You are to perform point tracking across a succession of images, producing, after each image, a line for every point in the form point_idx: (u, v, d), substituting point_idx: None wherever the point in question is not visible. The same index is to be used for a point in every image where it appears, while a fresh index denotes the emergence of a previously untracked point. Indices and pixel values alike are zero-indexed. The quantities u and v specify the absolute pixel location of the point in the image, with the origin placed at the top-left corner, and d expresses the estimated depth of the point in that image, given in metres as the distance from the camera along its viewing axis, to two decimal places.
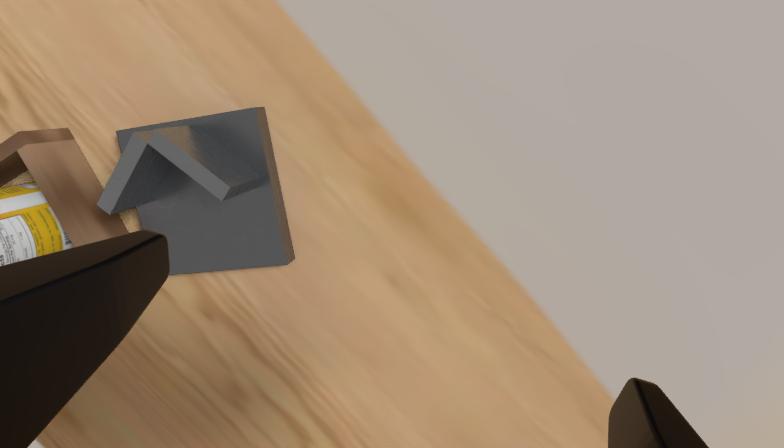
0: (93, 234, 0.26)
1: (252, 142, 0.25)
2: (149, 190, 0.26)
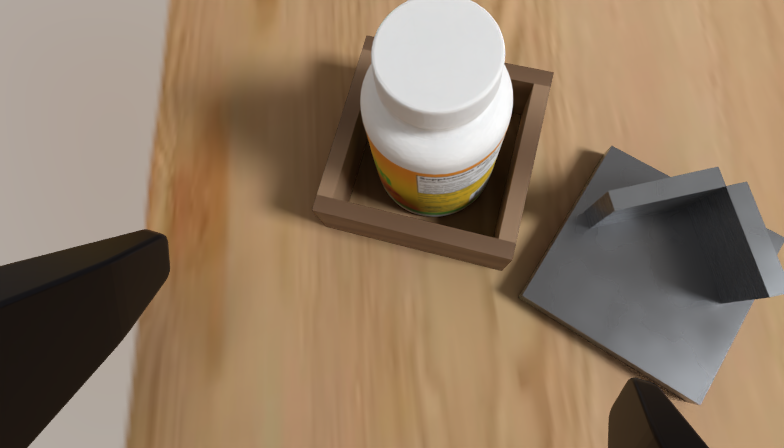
0: None
1: None
2: (618, 219, 0.21)
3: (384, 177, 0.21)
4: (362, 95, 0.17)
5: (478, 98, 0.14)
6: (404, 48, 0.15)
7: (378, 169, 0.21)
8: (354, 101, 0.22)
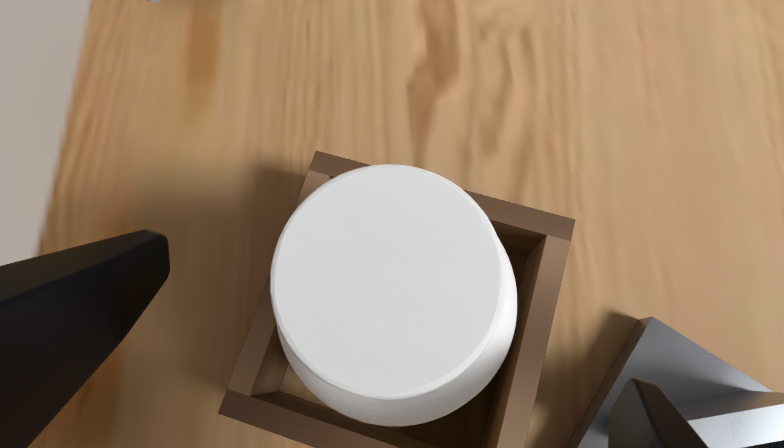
0: None
1: None
2: None
3: None
4: None
5: (455, 374, 0.08)
6: (328, 266, 0.08)
7: None
8: None
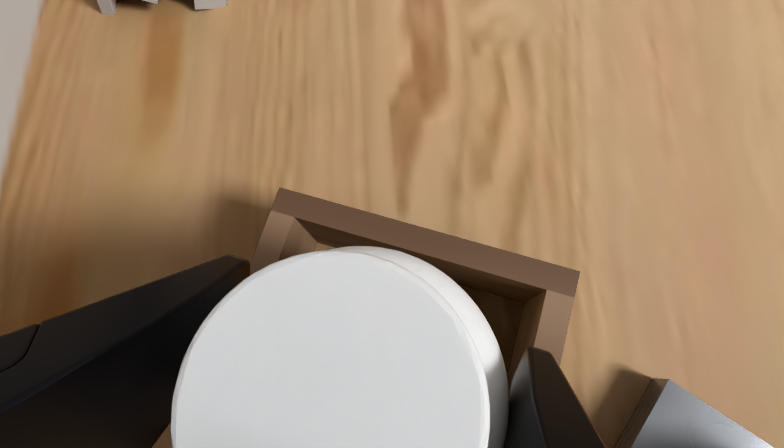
0: None
1: None
2: None
3: None
4: None
5: None
6: (248, 396, 0.06)
7: None
8: None
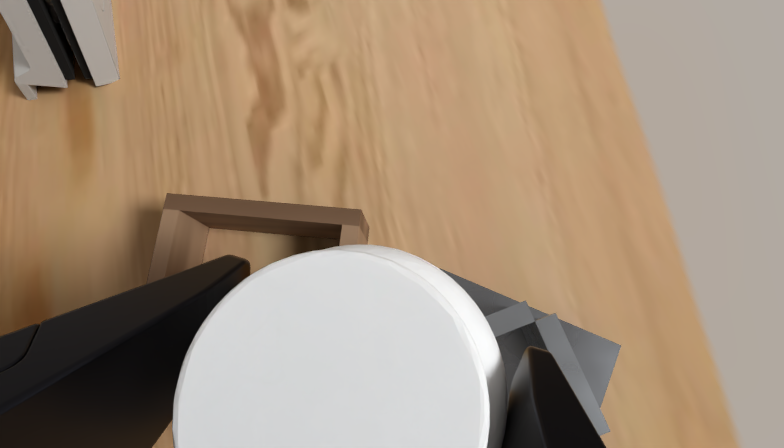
0: None
1: (596, 377, 0.20)
2: None
3: None
4: None
5: None
6: (249, 394, 0.06)
7: None
8: (158, 269, 0.21)
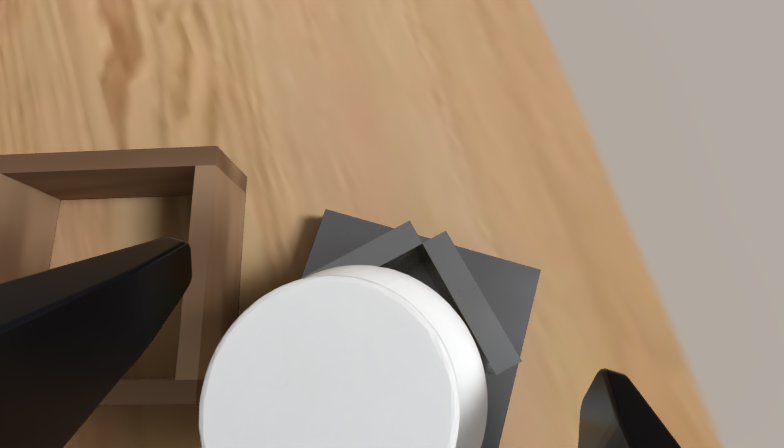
0: (212, 324, 0.16)
1: (515, 310, 0.17)
2: None
3: None
4: None
5: None
6: (261, 397, 0.08)
7: None
8: None
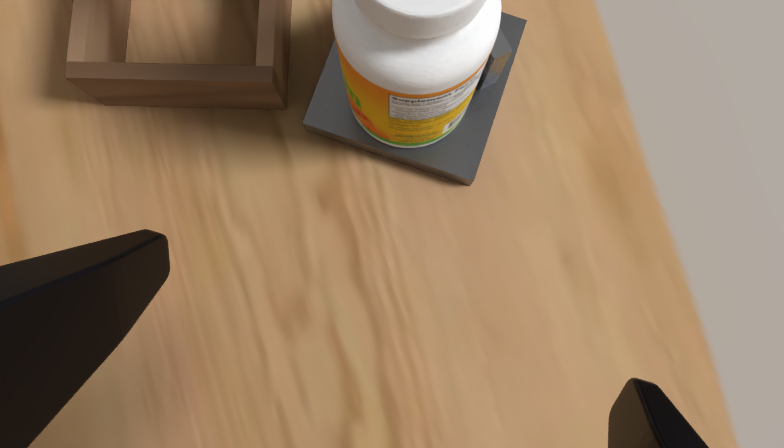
0: (278, 36, 0.21)
1: None
2: None
3: (353, 98, 0.19)
4: None
5: (465, 4, 0.13)
6: None
7: (347, 88, 0.19)
8: None
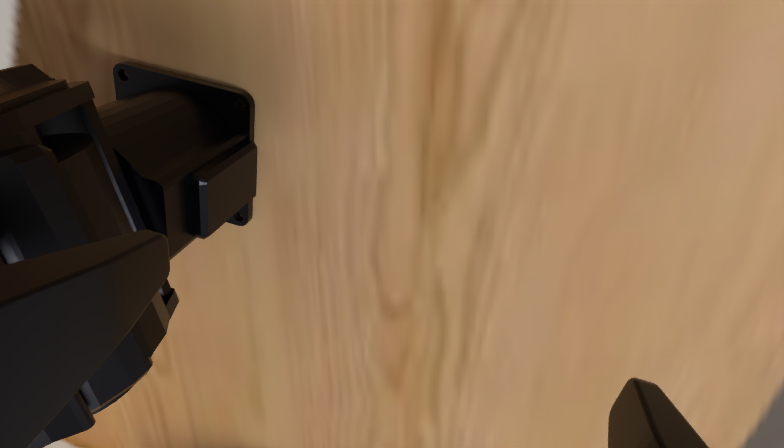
0: None
1: None
2: None
3: None
4: None
5: None
6: None
7: None
8: None
